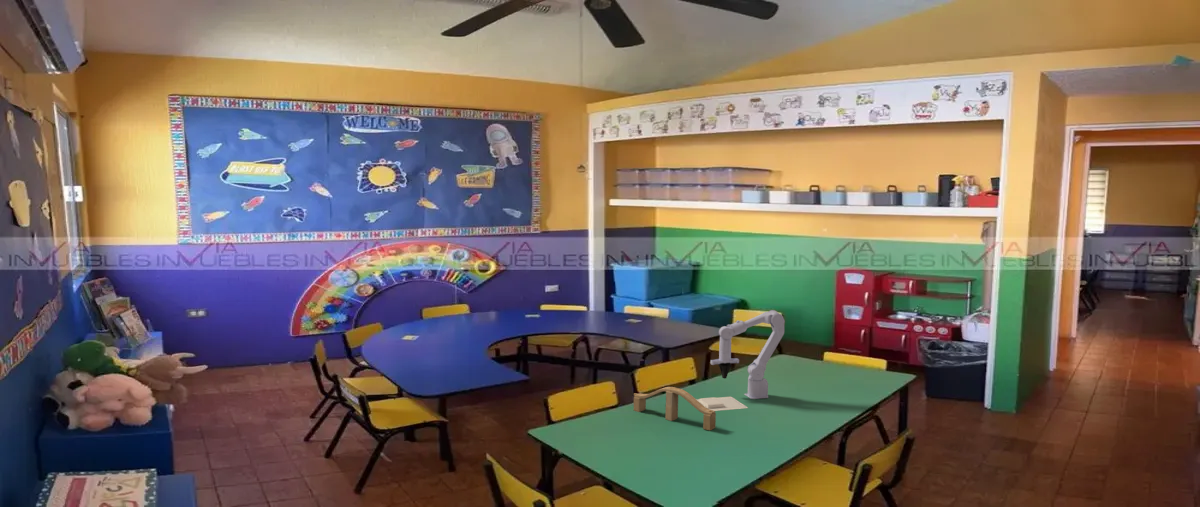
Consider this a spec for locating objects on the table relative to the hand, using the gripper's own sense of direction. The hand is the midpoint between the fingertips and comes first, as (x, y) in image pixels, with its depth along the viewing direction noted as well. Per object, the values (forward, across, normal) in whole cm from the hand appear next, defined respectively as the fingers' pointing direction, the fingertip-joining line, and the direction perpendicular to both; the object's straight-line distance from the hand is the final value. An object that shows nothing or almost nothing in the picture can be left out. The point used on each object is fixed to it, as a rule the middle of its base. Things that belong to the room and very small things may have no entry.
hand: (724, 377), depth 352 cm
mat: (+9, +8, +11) cm, 17 cm away
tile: (+8, +8, +11) cm, 16 cm away
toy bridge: (+10, +37, +24) cm, 46 cm away
